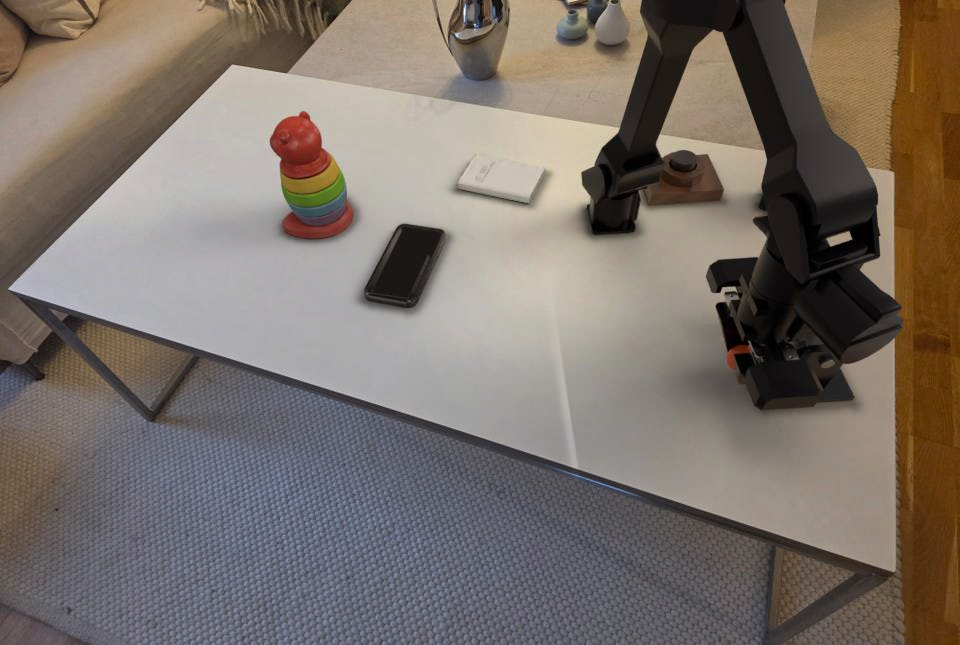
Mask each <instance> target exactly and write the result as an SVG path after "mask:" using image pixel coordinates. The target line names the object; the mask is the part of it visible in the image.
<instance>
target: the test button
mask: <svg viewBox="0 0 960 645" xmlns="http://www.w3.org/2000/svg"><path fill="white" fill-rule="evenodd" d="M674 152H675V153H674V154H673V157H672V161H671V168H672V169H673V170H675V171H677V172H681V173H687V172H692V171H693V170H694V168H695V164H696V161H697V156H696V155H697V154H696V153H694V152H693V151H691V150H688V149H680V150H676V151H674Z"/></svg>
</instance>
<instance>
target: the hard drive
mask: <svg viewBox="0 0 960 645" xmlns="http://www.w3.org/2000/svg"><path fill="white" fill-rule="evenodd" d="M545 175H546V166H540V165H536V164H531V163H530V164H529V163H524V162H519V161H513V160H508V159H502V158H497V157H492V156H487V155H481V154H474V156H473V158H472V159H471V161H470V162H469V164H468V166H467V167H466V168H465V170H464V172H463V173H462V174H461V176H460V178H459V179H458V181H457V189H459V190H462V191H463V190H464V191H468V192H471V193H477V194H481V195H486V196H490V197H495V198H501V199H505V200H511V201H515V202H520V203H525V204H531V202H532V201H533V199H534V197H535V195H536V193H537V191H538V189H539V187H540V185H541V183H542V182H543V179H544V177H545Z"/></svg>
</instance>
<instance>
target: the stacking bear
mask: <svg viewBox="0 0 960 645" xmlns="http://www.w3.org/2000/svg"><path fill="white" fill-rule="evenodd" d="M322 145H323V139H322V134H321V131H320V129H319V127H318V126H317V125H316V124H315V123H314V122H313V121H312V120H311V116H310V114H309V113H308V112H307V111H305V110H302V111H300V112H299V114H298V115H291V116H287V117H285V118H283V119H281V121H280V122H279V123H278V124H276V126H275V128H274V130H273V132H272V134H271V136H270V138H269V146H270V148H271V150H272V151H273V153H274V154H275V155H276V156H277V157H278V158H280V161H279V177H280V187H281V191H282V195H283V197H284V199H285V201H286V203H287V205H288V206H289V208H290V209H291V212H289V213H287V215H286V216H285V217H284V218H283V219H282V223H281V224H282V229H283V231H284V232H285V233H286V234H289V235H291V236H293V237H296V238H302V239H323V238H324V239H325V238H328V237H329V238H330V237H333V236H335V235H338V234H340V233H341V232H343V231H345V230H346V229H347V228H348V227H349V226H350V224H351V223H352V221H353V218H354V209H353V207H352V205H351V203H350V202H349V201H348V190H347V182H346V178H345V177H344V176H345V175H344V174H343V172H342V169H341V168H340V166H339V165H338V162H337V161H336V159H335V157H333V155H332V154H331V153H330V152H329V151H327V150H326V149H325V148H324V147H323V146H322Z"/></svg>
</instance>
